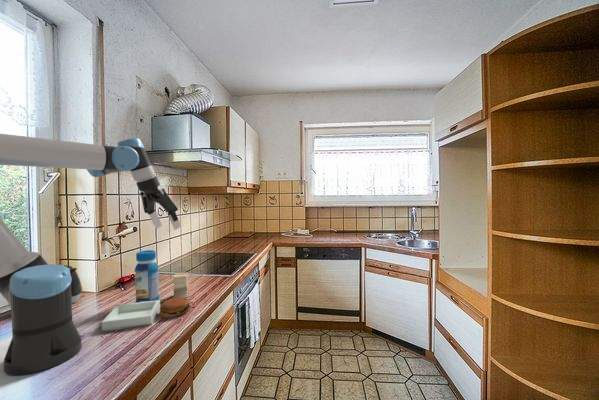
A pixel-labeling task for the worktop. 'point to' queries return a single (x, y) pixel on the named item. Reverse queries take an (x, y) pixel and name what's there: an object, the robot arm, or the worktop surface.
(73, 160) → the robot arm
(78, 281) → the pump dispenser
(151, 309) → the tray
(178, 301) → the burger
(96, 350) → the worktop surface
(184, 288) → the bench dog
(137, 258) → the blue supplement bottle
